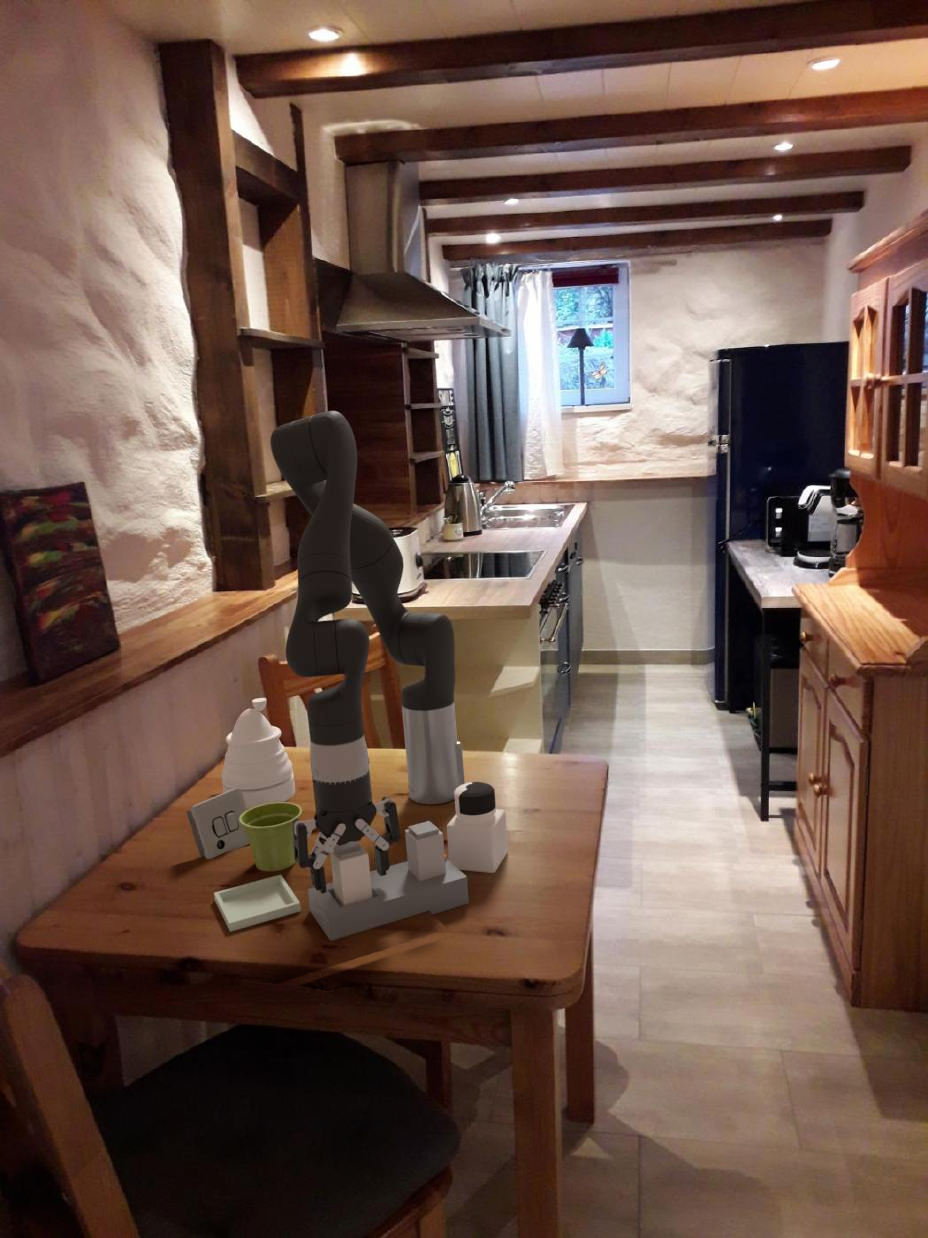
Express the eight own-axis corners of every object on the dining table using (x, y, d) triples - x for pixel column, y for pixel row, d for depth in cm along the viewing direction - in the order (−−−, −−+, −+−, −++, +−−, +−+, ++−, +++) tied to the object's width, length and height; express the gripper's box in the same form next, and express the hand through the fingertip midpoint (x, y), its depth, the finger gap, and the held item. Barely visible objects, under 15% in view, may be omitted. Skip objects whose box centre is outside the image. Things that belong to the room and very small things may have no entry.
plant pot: (240, 861, 149) (234, 810, 147) (299, 847, 152) (293, 796, 150) (252, 886, 140) (245, 832, 138) (314, 871, 144) (308, 818, 142)
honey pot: (281, 776, 183) (271, 687, 180) (305, 797, 173) (295, 703, 169) (216, 793, 177) (204, 701, 173) (236, 816, 166) (223, 718, 163)
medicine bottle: (508, 852, 146) (503, 779, 143) (494, 874, 139) (489, 798, 136) (464, 848, 148) (459, 776, 145) (449, 869, 141) (443, 794, 139)
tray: (282, 887, 140) (280, 874, 139) (301, 916, 131) (300, 903, 131) (215, 905, 135) (213, 892, 135) (230, 937, 127) (229, 923, 126)
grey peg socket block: (441, 877, 139) (436, 809, 137) (468, 903, 131) (463, 832, 129) (310, 915, 131) (302, 845, 129) (331, 946, 123) (323, 871, 121)
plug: (363, 902, 131) (357, 838, 129) (374, 915, 128) (367, 849, 126) (336, 911, 130) (329, 846, 128) (346, 924, 126) (339, 857, 124)
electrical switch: (210, 865, 148) (199, 808, 147) (191, 860, 152) (180, 804, 150) (257, 842, 156) (247, 788, 154) (238, 837, 159) (228, 785, 157)
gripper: (380, 749, 131) (390, 858, 134) (279, 772, 125) (292, 885, 128) (401, 765, 124) (411, 879, 127) (295, 790, 118) (309, 909, 122)
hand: (351, 882), depth 128 cm, fingers open, 8 cm apart
